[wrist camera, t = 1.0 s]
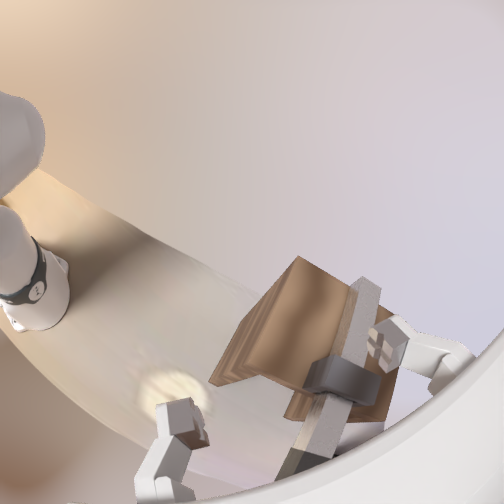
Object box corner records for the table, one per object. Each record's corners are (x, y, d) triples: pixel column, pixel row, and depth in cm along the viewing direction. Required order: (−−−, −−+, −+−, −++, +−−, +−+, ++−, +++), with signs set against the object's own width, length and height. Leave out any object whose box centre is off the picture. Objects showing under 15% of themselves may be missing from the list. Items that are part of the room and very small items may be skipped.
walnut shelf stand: (208, 381, 45) (263, 354, 21) (241, 320, 53) (315, 235, 29) (291, 420, 45) (411, 418, 20) (316, 360, 53) (428, 310, 29)
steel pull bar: (273, 482, 18) (285, 489, 16) (349, 285, 32) (362, 275, 30) (301, 489, 18) (315, 495, 16) (369, 297, 32) (382, 288, 30)
